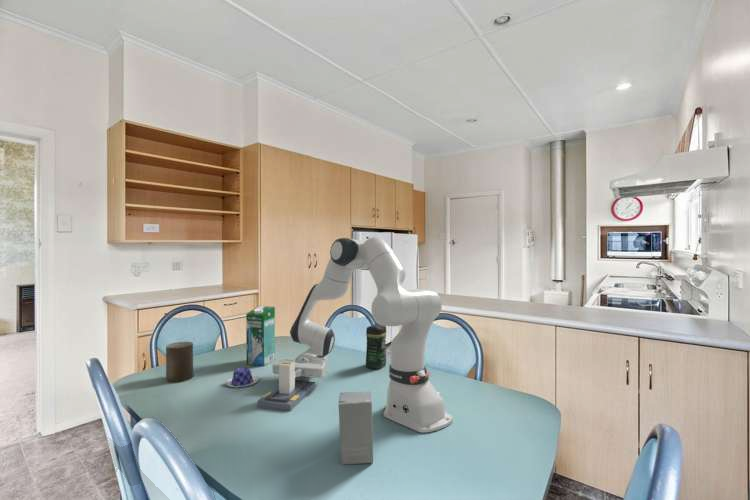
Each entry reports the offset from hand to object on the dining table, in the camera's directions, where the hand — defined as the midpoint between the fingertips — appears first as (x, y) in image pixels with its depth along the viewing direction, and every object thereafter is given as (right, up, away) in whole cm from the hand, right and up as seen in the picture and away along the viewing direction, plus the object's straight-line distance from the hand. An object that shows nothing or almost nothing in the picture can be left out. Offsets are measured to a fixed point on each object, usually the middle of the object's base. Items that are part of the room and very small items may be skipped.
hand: (290, 375), depth 128 cm
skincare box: (+26, -8, -38) cm, 46 cm away
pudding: (-22, -7, +12) cm, 26 cm away
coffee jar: (+31, -7, +31) cm, 44 cm away
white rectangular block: (-1, -5, -2) cm, 5 cm away
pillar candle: (-48, -7, +17) cm, 52 cm away
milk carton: (-22, -7, +36) cm, 43 cm away
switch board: (0, -7, -1) cm, 7 cm away
